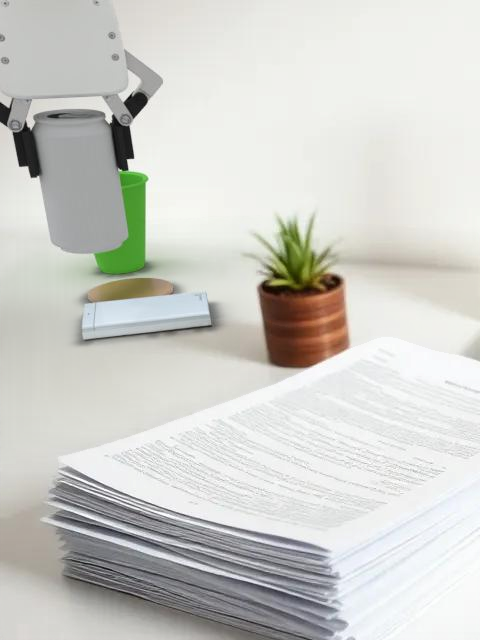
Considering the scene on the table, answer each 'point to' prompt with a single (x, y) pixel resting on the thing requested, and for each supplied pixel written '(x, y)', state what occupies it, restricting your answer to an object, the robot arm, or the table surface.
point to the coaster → (130, 289)
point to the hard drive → (145, 315)
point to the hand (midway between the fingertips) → (78, 169)
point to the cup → (129, 228)
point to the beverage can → (80, 180)
